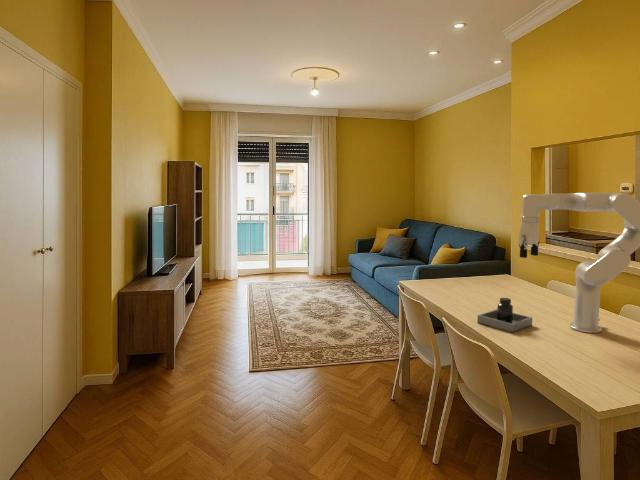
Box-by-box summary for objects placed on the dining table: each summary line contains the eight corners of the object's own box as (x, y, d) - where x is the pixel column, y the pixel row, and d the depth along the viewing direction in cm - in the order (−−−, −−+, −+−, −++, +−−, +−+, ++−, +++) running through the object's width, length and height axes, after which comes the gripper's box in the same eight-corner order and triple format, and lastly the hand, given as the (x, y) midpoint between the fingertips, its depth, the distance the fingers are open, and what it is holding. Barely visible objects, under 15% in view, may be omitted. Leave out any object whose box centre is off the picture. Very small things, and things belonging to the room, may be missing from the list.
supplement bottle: (498, 319, 200) (499, 296, 199) (513, 322, 196) (514, 298, 195) (495, 323, 195) (496, 299, 193) (510, 326, 191) (511, 301, 189)
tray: (497, 316, 208) (497, 308, 207) (532, 325, 193) (532, 317, 193) (477, 323, 198) (477, 315, 198) (512, 333, 183) (512, 324, 183)
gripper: (532, 219, 197) (530, 253, 199) (512, 221, 188) (511, 257, 190) (547, 219, 191) (546, 255, 193) (528, 222, 182) (526, 259, 184)
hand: (528, 256), depth 191 cm, fingers open, 9 cm apart
